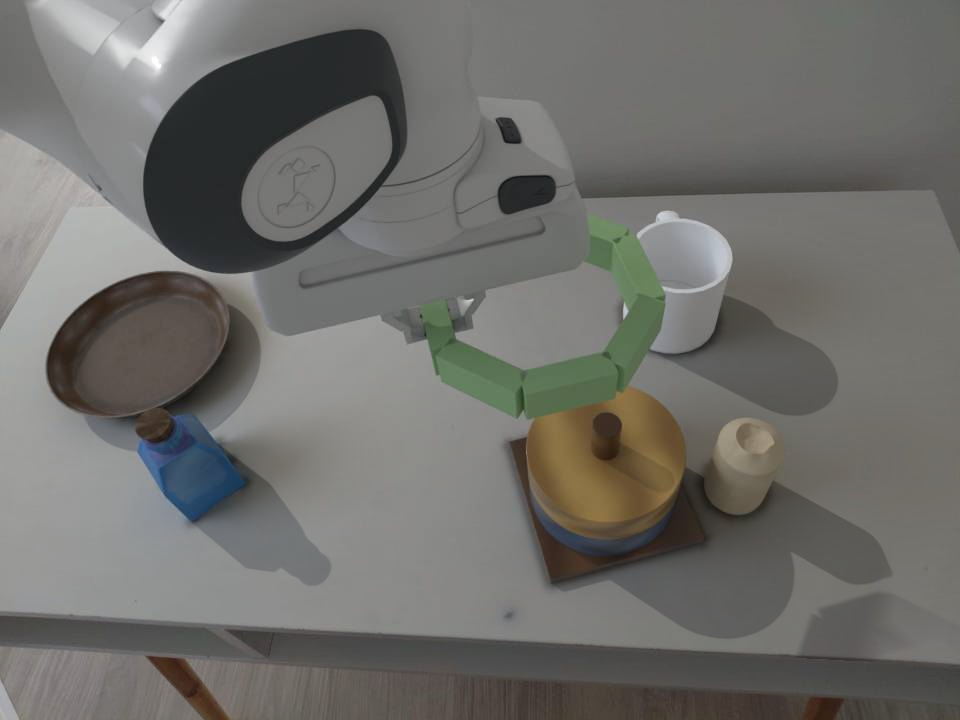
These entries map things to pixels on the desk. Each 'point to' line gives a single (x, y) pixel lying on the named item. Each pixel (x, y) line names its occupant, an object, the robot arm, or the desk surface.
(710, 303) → the mug
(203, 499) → the perfume bottle
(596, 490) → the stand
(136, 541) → the desk surface
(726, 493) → the candle
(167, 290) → the plant saucer
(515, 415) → the ring
